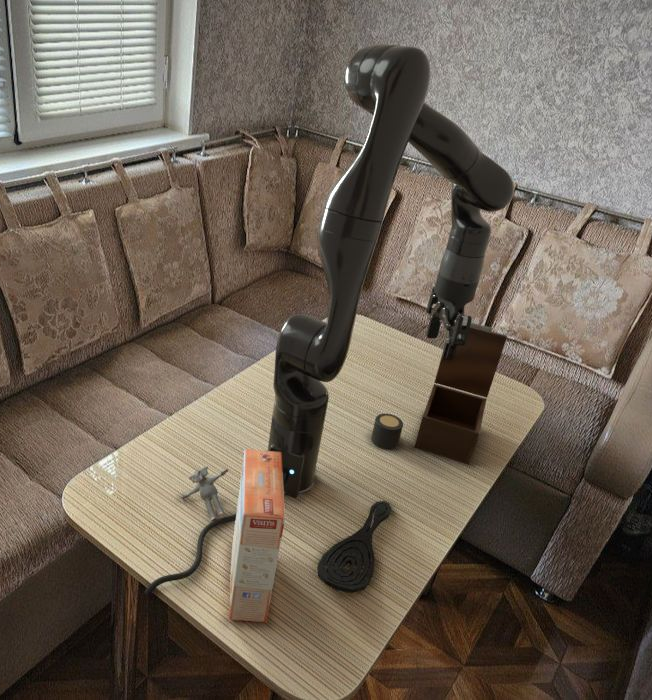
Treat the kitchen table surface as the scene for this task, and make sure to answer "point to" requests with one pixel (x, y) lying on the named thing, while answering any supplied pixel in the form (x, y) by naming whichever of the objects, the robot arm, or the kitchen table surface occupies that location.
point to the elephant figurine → (207, 490)
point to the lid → (473, 361)
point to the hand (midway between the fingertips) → (439, 348)
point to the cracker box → (256, 535)
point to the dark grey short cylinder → (386, 431)
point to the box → (451, 424)
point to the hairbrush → (353, 555)
